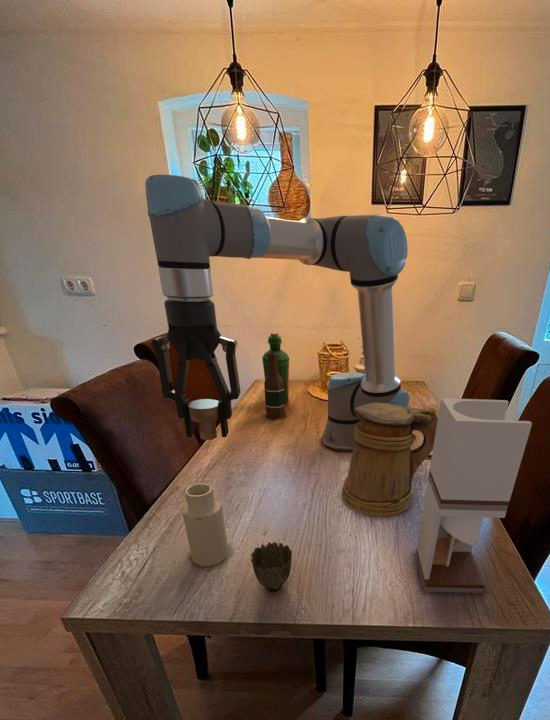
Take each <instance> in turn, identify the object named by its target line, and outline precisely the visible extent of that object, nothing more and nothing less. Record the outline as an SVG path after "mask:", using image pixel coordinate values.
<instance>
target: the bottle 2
mask: <svg viewBox="0 0 550 720" xmlns="http://www.w3.org/2000/svg"><path fill="white" fill-rule="evenodd" d="M267 344H268V345H269V349H268V350H267V351H265V353H263V355H262V358H261V359H262V367H263V375H264V379H265V378H266V377H267V375H268V356H267V354H268V352H276V353H277V366H278V373H279V375H280V377H281V378H282V381H283V385H284V400H285V405H287V404H288V403H289V393H290V391H289V390H290V387H289V386H290V356H289V355H288V353H287V352H285V351H284V350H283V349H281V344H283V341H282V336H281V335H280V333H279V332H270V335H269V336H268V339H267Z"/></svg>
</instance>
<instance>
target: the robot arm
mask: <svg viewBox="0 0 550 720" xmlns="http://www.w3.org/2000/svg"><path fill="white" fill-rule="evenodd" d="M144 186H145V199H146V208H147V217H149V223H150V228H151V235H152V240H153V246H154V252H155V257H156V261H157V268H158V275H159V280H160V287H161V292H162V296H164V297H166V298H167V299H165V301H164V302H163V304H164V311H165V315H166V321H167V327H168V328H167V329H168V330H167V333H166V335H164V336H157V337H156V338H153V339H151V342H150V345H151V346H152V348H153V350H154V352H155V354H156V359H157V366H158V372H159V380H160V387H161V393H162V396H163V397H164V398H165V399H170V400H173V401H174V403H175V406H176V413H177V417H178V418H179V419H183V420H184V427H185V433H186V437H187V438H192V437H193V435H194V434H195V432H196V430H195V429H196V428H195V421H192V420H190V417H189V411H188V403H190V402H191V398H189V397H186V396H187V395H186V391H187V386H188V385H187V384H188V378H189V371H190V363H191V361H192V360H199V361H203V362H204V365H205V366H206V367H207V369H208V371H209V373H210V376H211V379H212V381H213V383H214V385H215V388H216V390H217V392H218V395H219V397H220V399H219V400H218V401H219V402H218V409H219V417H220V419H219V424H220V432H221V438H227V437H228V434H229V432H230V431H229V430H230V429H229V422H228V420H231V418H232V416H233V407H232V401H233V400H238V399H239V397H240V395H241V385H240V384H241V383H240V379H239V378H240V377H239V371H238V364H237V363H238V362H237V358H236V357H237V356H236V352H237V347H238V341H237V340H236V339H235V338H231V339H229V338H227V337H223V336H222V335H221V332H220V331H219V329H218V323H217V315H216V308H215V307H216V306H215V302H214V301H213V300H212V299H211V298H212V297H213V296H214V290H213V289H214V288H213V279H212V272H211V263H210V262H211V261H210V257H219V258H233V259H234V258H235V259H236V258H238V259H248V260H250V259H273V260H275V259H276V260H294V261H295V260H296V261H298V262H300V263H301V264H303V265H306V266H316V267H321V268H324V269H325V268H326V269H329V270H334V271H338V272H346V273H347V272H348V273H349V280H350V285H351V286H352V287H353V288H354V289H355V290H356V291H357V299H358V310H359V311H358V313H359V320H360V334H361V343H362V344H361V345H362V354H363V367H364V368H363V369H364V373H363V372H355V371H351V372H349V371H347V372H341V373H336V374H333V375H331V376H330V377H329V378H328V384H327V385H328V386H327V421H326V424H325V428H324V429H323V432H322V436H321V441H322V444H323V445H324V447H327V448H328V449H331V450H334V451H339V452H340V451H341V452H353V449H354V444H355V439H354V432H355V428H356V425H357V424H358V423H359V421H360V416H359V415H357V414H356V413H354V410H355V409H356V408H357V407H360V406H363V405H366V404H369V403H387V404H395V405H401V406H405V407H409V402H410V393H409V392H408V391H406V389H402V388H401V387H402V386H401V378H400V376H398V375H397V374H396V364H395V363H396V362H395V337H394V336H395V335H394V334H395V333H394V305H393V304H394V303H393V287H394V285H395V284H396V283H397V281H398V280H399V274H401V273H402V272H403V270H404V268H405V266H406V263H407V262H406V260H407V258H408V253H409V251H408V249H409V246H408V239H407V233H406V231H405V229H404V226H403V225H402V224H401V223H400V220H398V218H396V217H395V216H393V215H384V214H380V213H377V214H376V213H375V214H374V213H373V214H358V215H357V214H355V215H336V216H328V217H327V216H326V217H319V218H318V217H317V218H315V217H314V218H313V217H304V218H303V217H302V219H300V220H299V221H297V220H290V219H283V218H275V217H269V216H266V215H265V213H264V212H263V211H262V210H261V209H260V208H258V207H254V206H250V205H247V204H246V203H244V204H238V203H231V202H225V201H224V202H223V201H216V200H211V199H207V198H204V194H203V192H202V186H201V184H200V182H199V181H198V180H197V179H194V178H190V177H187V176H184V175H183V176H182V175H174V174H153V175H149V176H148V177H147V178H146V179H145V184H144ZM170 344H171V345H172V347H174V349H175V350H176V351H177V352H178V359H177V373H176V380H175V388H174V382H173V373H172V366H171V358H170V351H169V349H170ZM219 345H221V349H222V351H223V352H224V353H225V361H226V368H227V374H228V383H229V387H228V385H227V382H226V380H225V377H224V374H223V373H222V370H221V367H220V365H219V362H218V358H217V355H216V353H215V351H216V350H217V348H218V346H219ZM229 389H230V390H229ZM427 458H430V459H431V458H432V454H429V455H428V457H427Z"/></svg>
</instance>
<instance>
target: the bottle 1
mask: <svg viewBox="0 0 550 720" xmlns="http://www.w3.org/2000/svg"><path fill="white" fill-rule="evenodd" d="M184 495H185V501H186V503H185V504H183V506H182V508H181V513H182V517H183V522H184V527H185V532H186V536H187V541H188V546H189V550H190V555H191V559H192V561H193V563H194V564H196V565H198V566H200V567H211V566H215V565H218V564H220V563H222V562H223V561H224V560H226V559H227V558H228V555H229V544H228V538H227V531H226V524H225V517H224V511H223V504H222V502H221V500H219V499H217V498H216V497H215V494H214V488H213V486H212V485H211V484H209V483H205V482H199V483H193V484H190V485H189V486H188V487H186V488H185V490H184Z"/></svg>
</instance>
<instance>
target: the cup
mask: <svg viewBox="0 0 550 720" xmlns="http://www.w3.org/2000/svg"><path fill="white" fill-rule="evenodd" d="M292 560H293V550H292V549H291V548H290V547H289V545H288V544H285V545H283V543H282V542H280V543H279V544H278V543H277V542H275V541H273V542H272V543H271V542H268V543H267V544H266V545H264V544H261V547H255V548H254V550H253V552H251V564H252V568H253V572H254V575H255V579H256V580H257V582H258V583H259V584H260V585H262V587H264V588H265V590H266V591H268V592H271V593H274V592H278V591H280V590H281V589H282V588H283V587H284V584H285V583H286V582H287V581H288V580H289V578H290V575H291V569H292Z"/></svg>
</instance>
